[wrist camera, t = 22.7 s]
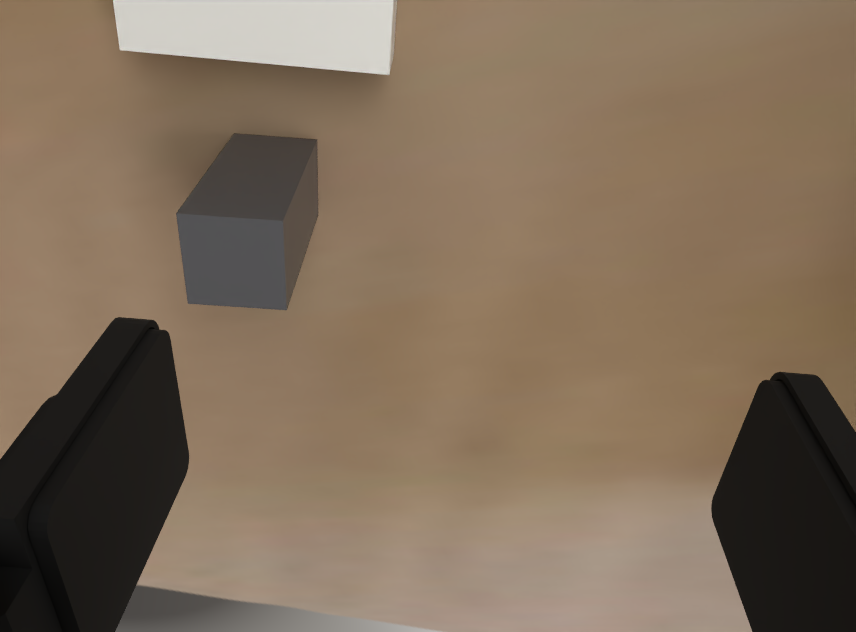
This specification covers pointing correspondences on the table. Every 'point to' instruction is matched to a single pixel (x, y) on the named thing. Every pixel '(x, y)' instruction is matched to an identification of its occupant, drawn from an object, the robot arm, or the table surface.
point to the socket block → (264, 31)
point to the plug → (250, 222)
